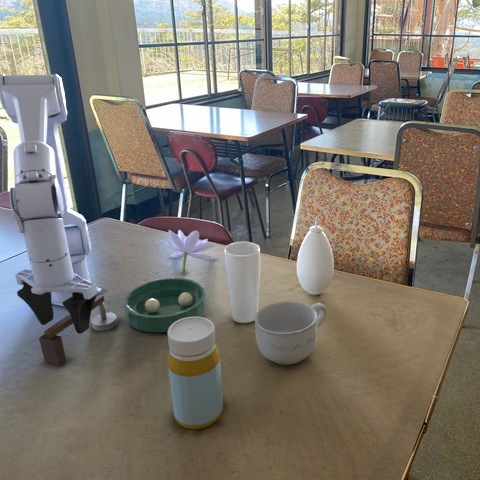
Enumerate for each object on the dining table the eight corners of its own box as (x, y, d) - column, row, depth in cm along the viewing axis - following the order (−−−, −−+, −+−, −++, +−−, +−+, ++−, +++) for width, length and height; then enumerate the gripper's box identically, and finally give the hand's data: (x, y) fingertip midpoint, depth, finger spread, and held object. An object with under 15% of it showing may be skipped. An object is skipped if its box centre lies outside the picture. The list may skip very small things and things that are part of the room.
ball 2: (192, 297, 99) (178, 302, 98) (188, 287, 97) (175, 293, 96) (195, 306, 97) (182, 311, 96) (192, 296, 95) (178, 301, 94)
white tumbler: (255, 329, 91) (253, 258, 85) (222, 324, 93) (217, 253, 87) (266, 310, 98) (265, 243, 92) (234, 306, 99) (231, 239, 93)
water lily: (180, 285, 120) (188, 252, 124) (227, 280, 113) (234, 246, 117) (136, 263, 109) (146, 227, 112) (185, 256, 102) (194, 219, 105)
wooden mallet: (103, 316, 94) (98, 288, 92) (122, 320, 93) (117, 292, 90) (41, 361, 81) (33, 330, 78) (62, 367, 80) (55, 336, 77)
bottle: (179, 398, 74) (169, 315, 68) (225, 396, 74) (219, 314, 68) (170, 433, 67) (158, 344, 61) (220, 431, 68) (214, 343, 62)
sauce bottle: (290, 297, 103) (291, 218, 96) (305, 281, 109) (306, 206, 102) (324, 305, 100) (327, 224, 93) (337, 288, 107) (341, 212, 100)
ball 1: (144, 297, 95) (139, 310, 93) (154, 294, 93) (149, 306, 92) (154, 305, 96) (150, 317, 95) (164, 301, 95) (160, 313, 93)
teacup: (269, 380, 78) (268, 339, 75) (246, 344, 87) (245, 306, 84) (343, 357, 84) (345, 318, 81) (315, 326, 93) (316, 289, 90)
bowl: (109, 326, 91) (106, 308, 89) (157, 289, 104) (155, 273, 103) (179, 342, 87) (177, 324, 85) (220, 301, 100) (219, 284, 99)
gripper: (-8, 257, 75) (11, 330, 81) (67, 273, 71) (82, 348, 77) (29, 240, 81) (45, 309, 87) (100, 254, 78) (112, 324, 83)
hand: (65, 326), depth 82 cm, fingers open, 7 cm apart
